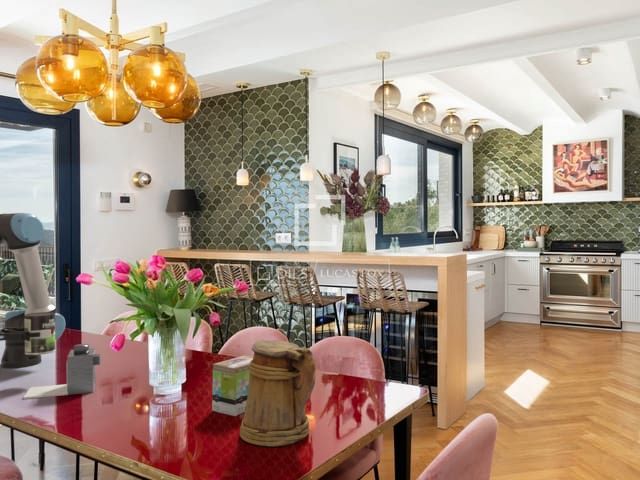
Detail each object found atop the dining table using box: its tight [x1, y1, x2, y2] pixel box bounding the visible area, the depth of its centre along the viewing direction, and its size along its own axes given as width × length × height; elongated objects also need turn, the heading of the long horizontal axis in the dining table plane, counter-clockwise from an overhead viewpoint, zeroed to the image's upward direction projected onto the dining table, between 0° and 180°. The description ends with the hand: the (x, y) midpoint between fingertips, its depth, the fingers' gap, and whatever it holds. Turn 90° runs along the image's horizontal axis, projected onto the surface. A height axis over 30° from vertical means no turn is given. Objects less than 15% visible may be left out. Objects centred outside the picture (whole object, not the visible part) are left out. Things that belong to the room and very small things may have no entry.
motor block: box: [65, 343, 101, 396], centre depth 191 cm, size 12×10×15 cm
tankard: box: [239, 339, 317, 448], centre depth 144 cm, size 18×24×25 cm
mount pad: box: [23, 383, 68, 400], centre depth 187 cm, size 12×14×1 cm
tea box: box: [211, 355, 254, 417], centre depth 169 cm, size 15×10×15 cm, turn 148°
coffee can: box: [24, 312, 56, 356], centre depth 198 cm, size 10×10×14 cm
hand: (52, 330), depth 199 cm, fingers closed on coffee can, 10 cm apart
